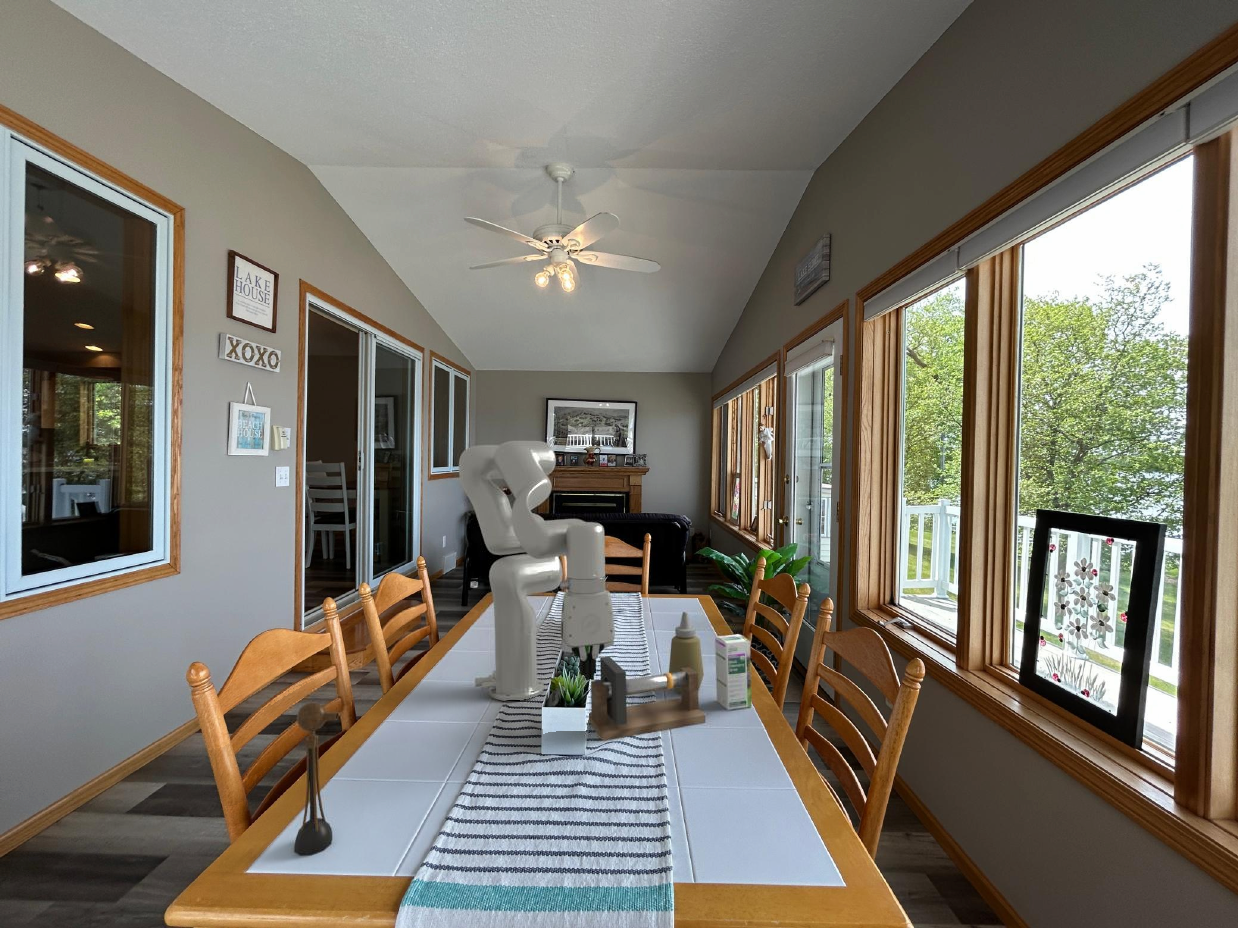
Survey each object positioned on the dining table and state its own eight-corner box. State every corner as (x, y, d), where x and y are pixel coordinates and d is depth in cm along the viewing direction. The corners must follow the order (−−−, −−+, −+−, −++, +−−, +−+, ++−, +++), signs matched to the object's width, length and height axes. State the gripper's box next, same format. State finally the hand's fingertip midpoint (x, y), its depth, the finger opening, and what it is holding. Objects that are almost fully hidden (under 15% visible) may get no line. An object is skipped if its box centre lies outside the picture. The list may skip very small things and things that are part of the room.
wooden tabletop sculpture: (345, 833, 87) (343, 695, 87) (331, 854, 82) (329, 708, 82) (304, 834, 86) (302, 696, 86) (287, 855, 82) (285, 709, 82)
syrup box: (727, 710, 127) (726, 642, 127) (715, 700, 132) (714, 634, 132) (751, 707, 128) (750, 639, 128) (739, 697, 134) (738, 632, 134)
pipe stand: (602, 740, 114) (601, 693, 114) (587, 719, 123) (586, 675, 123) (705, 722, 121) (704, 677, 121) (684, 703, 131) (683, 662, 131)
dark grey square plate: (616, 725, 115) (616, 673, 115) (601, 705, 124) (600, 657, 124) (626, 723, 116) (625, 671, 116) (610, 704, 125) (609, 656, 125)
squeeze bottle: (663, 693, 137) (662, 614, 137) (676, 681, 144) (675, 606, 144) (696, 699, 133) (695, 618, 133) (708, 686, 140) (707, 610, 140)
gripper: (553, 592, 112) (555, 690, 112) (628, 585, 117) (630, 679, 117) (545, 585, 119) (546, 676, 119) (615, 578, 124) (617, 667, 124)
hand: (588, 677), depth 118 cm, fingers closed
